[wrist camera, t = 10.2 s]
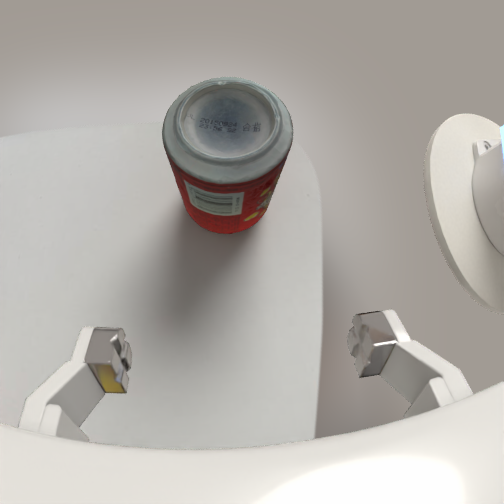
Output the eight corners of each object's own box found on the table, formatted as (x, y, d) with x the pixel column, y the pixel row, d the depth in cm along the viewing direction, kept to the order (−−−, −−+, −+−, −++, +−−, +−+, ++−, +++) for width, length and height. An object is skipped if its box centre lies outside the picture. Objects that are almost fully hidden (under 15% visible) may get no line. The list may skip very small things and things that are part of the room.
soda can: (269, 240, 27) (301, 179, 15) (183, 239, 26) (150, 178, 14) (267, 163, 28) (291, 70, 16) (188, 162, 28) (167, 69, 16)
